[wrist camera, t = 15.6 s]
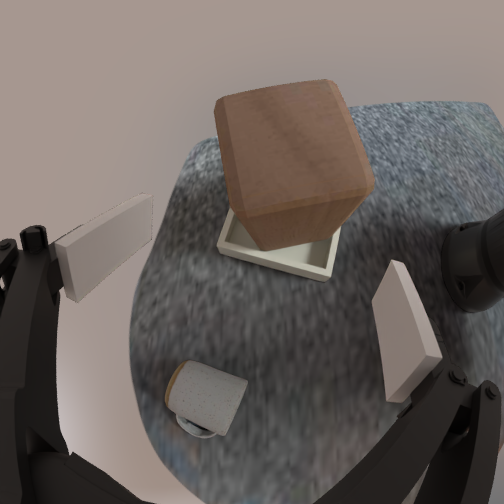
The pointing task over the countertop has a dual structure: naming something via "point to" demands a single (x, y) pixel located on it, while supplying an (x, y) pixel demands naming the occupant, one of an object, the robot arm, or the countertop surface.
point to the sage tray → (279, 252)
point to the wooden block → (291, 162)
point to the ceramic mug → (204, 398)
